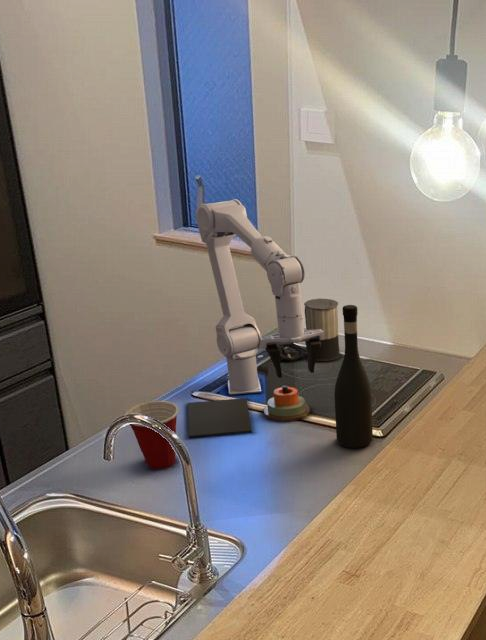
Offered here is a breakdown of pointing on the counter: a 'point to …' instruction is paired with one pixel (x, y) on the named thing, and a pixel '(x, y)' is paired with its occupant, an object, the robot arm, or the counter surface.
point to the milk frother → (317, 317)
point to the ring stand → (286, 409)
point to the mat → (218, 418)
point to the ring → (285, 397)
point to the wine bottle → (352, 390)
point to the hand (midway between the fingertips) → (295, 373)
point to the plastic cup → (155, 433)
